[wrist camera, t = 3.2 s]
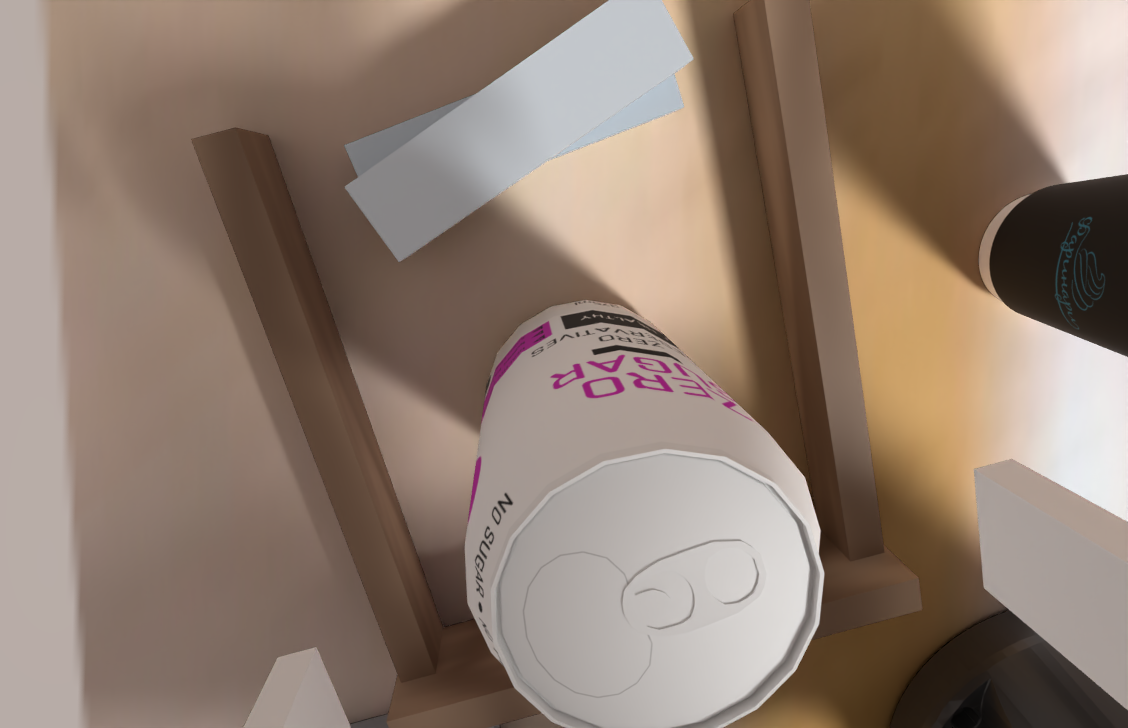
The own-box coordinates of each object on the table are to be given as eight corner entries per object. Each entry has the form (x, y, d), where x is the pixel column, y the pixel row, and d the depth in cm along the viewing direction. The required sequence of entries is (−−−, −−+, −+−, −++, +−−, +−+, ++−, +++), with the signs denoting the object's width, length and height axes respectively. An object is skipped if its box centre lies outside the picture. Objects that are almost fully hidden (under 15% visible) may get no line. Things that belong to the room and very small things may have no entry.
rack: (778, 2, 25) (842, -45, 20) (858, 544, 31) (922, 609, 26) (222, 147, 24) (151, 136, 20) (416, 663, 31) (398, 751, 26)
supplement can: (529, 508, 29) (546, 818, 15) (456, 338, 27) (393, 507, 13) (701, 443, 29) (889, 693, 15) (642, 268, 27) (793, 356, 12)
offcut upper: (635, -8, 23) (646, -27, 21) (679, 70, 24) (694, 58, 22) (357, 187, 24) (344, 186, 22) (408, 257, 25) (399, 262, 23)
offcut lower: (647, 34, 25) (658, 22, 23) (671, 113, 26) (684, 107, 24) (356, 148, 25) (343, 145, 23) (389, 222, 26) (379, 225, 24)
